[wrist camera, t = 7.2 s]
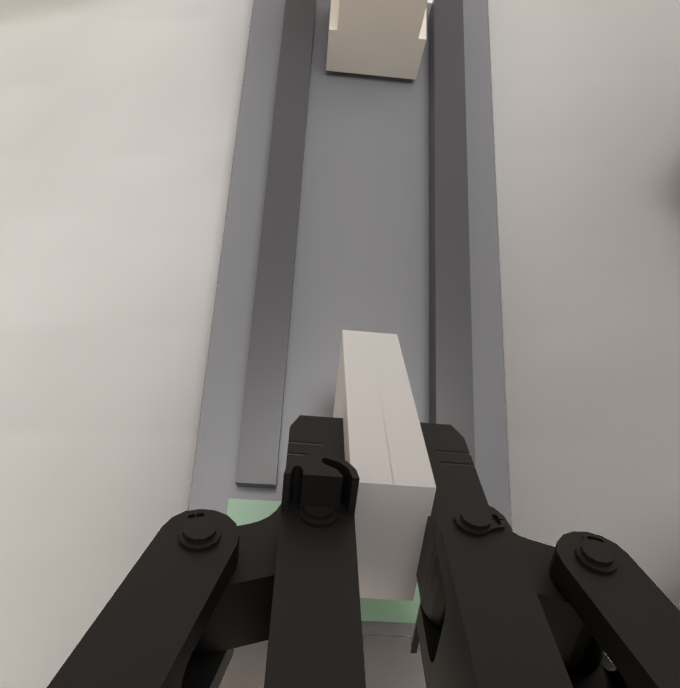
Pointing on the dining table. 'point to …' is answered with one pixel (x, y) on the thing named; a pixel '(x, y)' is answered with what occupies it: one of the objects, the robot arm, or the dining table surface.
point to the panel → (355, 255)
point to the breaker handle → (377, 37)
